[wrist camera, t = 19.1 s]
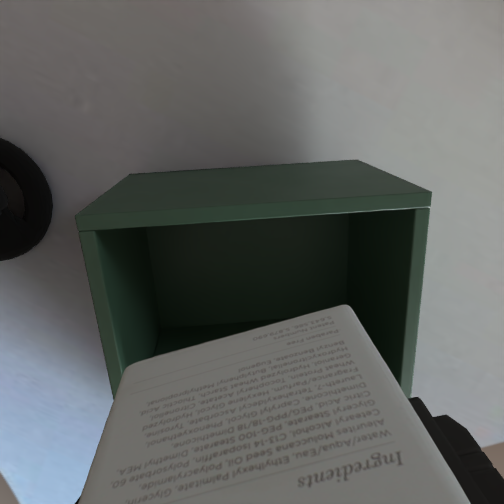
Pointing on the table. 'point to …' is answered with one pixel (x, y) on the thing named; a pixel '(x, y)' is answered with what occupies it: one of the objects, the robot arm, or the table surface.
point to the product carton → (269, 424)
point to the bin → (254, 256)
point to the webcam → (35, 199)
